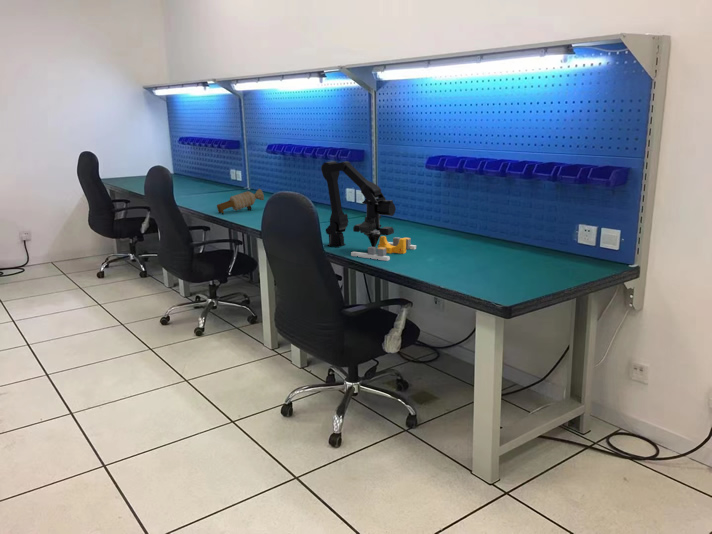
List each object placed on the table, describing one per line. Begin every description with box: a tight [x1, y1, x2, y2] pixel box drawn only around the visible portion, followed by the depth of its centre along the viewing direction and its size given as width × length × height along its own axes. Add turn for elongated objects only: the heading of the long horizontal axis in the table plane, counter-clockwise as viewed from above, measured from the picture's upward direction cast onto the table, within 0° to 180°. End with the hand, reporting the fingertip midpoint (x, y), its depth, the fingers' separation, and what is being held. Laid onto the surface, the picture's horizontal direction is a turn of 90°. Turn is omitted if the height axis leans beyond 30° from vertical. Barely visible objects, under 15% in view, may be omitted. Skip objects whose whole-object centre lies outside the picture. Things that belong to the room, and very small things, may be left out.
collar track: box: [350, 236, 417, 262], centre depth 263 cm, size 19×25×5 cm
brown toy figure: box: [216, 188, 265, 214], centre depth 380 cm, size 10×12×30 cm
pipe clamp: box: [377, 235, 407, 255], centre depth 262 cm, size 12×4×6 cm, turn 59°
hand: (373, 247), depth 267 cm, fingers closed
